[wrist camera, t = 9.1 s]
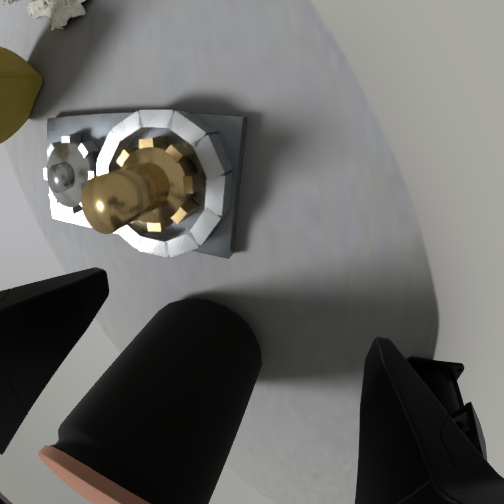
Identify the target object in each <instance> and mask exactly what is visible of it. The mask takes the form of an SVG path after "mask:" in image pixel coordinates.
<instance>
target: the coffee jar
mask: <svg viewBox="0 0 504 504" xmlns="http://www.w3.org/2000/svg"><path fill="white" fill-rule="evenodd" d="M261 366H262V361H261V350H260V346H259V344H258V342H257V340H256V338H255V336H254V334H253V332H252V330H251V329H250V327H249V326H248V325H247V324H246V323H245V322H244V321H243V320H242V319H241V317H240V316H238V315H237V314H235V313H234V312H232V311H231V310H229V309H228V308H226V307H225V306H222V305H219V304H217V303H214V302H211V301H208V300H198V299H185V300H181V301H176V302H172V303H169V304H168V305H166V306H165V307H164V308H162V309H161V310H159V311H158V312H157V314H156V315H155V316H154V317H153V318H152V319H151V320H150V321H149V322H148V324H147V325H146V326H145V327H144V328H143V329H142V330H141V331H140V333H139V334H138V335H137V336H136V337H135V338H134V339H133V341H132V342H131V343H130V344H129V345H128V346H127V347H126V348H125V350H124V351H123V352H122V353H121V354H120V355H119V357H118V358H117V359H116V360H115V361H114V362H113V363H112V365H111V366H110V367H109V368H108V369H107V370H106V372H105V373H104V374H103V375H102V376H101V377H100V379H99V380H98V381H97V382H96V383H95V384H94V386H93V387H92V388H91V389H90V390H89V392H88V393H87V394H86V395H85V396H84V397H83V399H82V400H81V401H80V402H79V403H78V405H77V406H76V407H75V408H74V409H73V410H72V412H71V413H70V414H69V415H68V416H67V418H66V419H65V420H64V422H63V423H62V424H61V425H60V427H59V430H58V434H59V440H58V442H57V443H56V444H55V445H51V446H44V447H43V448H42V449H41V450H40V451H39V453H38V454H39V456H40V459H41V460H42V461H43V463H45V465H46V466H47V467H48V468H49V469H50V470H51V471H52V472H53V473H54V474H55V475H57V477H59V478H60V479H61V480H62V481H63V482H65V483H66V484H67V485H68V486H69V487H71V488H72V489H73V490H74V491H76V492H77V493H79V494H80V495H81V496H83V497H84V498H86V499H87V500H89V501H90V502H91V503H93V504H208V503H209V501H210V499H211V496H212V494H213V491H214V489H215V487H216V484H217V481H218V479H219V477H220V474H221V472H222V469H223V467H224V465H225V462H226V460H227V457H228V454H229V452H230V449H231V447H232V444H233V442H234V439H235V437H236V434H237V431H238V429H239V426H240V423H241V421H242V418H243V415H244V413H245V410H246V407H247V405H248V402H249V399H250V396H251V394H252V391H253V388H254V385H255V383H256V380H257V377H258V374H259V371H260V369H261Z"/></svg>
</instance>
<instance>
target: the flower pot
mask: <svg viewBox="0 0 504 504" xmlns="http://www.w3.org/2000/svg"><path fill="white" fill-rule="evenodd" d="M42 83H43V77H42V76H41V75H40V74H39V73H38V72H37V71H36V70H35V69H34V68H33V67H32V66H31V65H29V64H28V62H26V61H25V60H24V59H23V58H21V57H20V56H19V55H17V54H16V53H14V52H12V51H10V50H8V49H6V48H3V47H0V143H2V142H4V141H5V140H7V139H8V138H10V137H11V136H12V135H13V134H14V133H16V132H17V131H18V130H19V129H20V128H21V127H22V126H23V124H24V123H25V122H26V121H27V120H28V118H29V116H30V113H31V110H32V108H33V105H34V102H35V100H36V98H37V95H38V93H39V91H40V88H41V86H42Z"/></svg>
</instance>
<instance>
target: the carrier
mask: <svg viewBox="0 0 504 504" xmlns="http://www.w3.org/2000/svg"><path fill="white" fill-rule="evenodd" d="M246 123H247V117H239V116H228V115H215V114H198V113H188V112H187V111H183V110H139V111H136V112H133V113H105V114H89V115H76V116H66V117H56V118H49V119H48V120H47V150H48V148H49V146H50V145H51V143H55V142H60V141H61V136H64V135H69V134H81V141H83V142H88V141H94V143H95V144H96V146H97V147H98V149H99V151H98V153H97V154H96V157H97V160H98V162H97V176H98V175H102V174H105V173H109V172H112V171H116V170H119V169H121V168H122V167H121V166H120V165H119V164H118V163H117V162H116V161H117V159H118V158H119V156H120V155H121V153H122V152H123V150H124V149H129V148H135V147H139V139H146V138H155V137H164V136H167V145H168V146H170V145H171V144H176V143H183V142H184V143H185V144H186V145H187V146H188V147H189V148H190V149H191V150H192V151H193V152H195V153H194V155H193V156H192V157H191V158H190V159H189V160H190V162H191V164H192V165H193V168H194V171H195V172H203V173H204V188H203V189H201V190H199V191H197V192H195V194H194V196H193V199H192V200H193V201H194V202H195V203H196V204H197V205H198V207H197V208H196V209H195V211H194V212H193V213H192V214H191V215H190V216H189V217H188V218H186V219H185V220H183V221H182V222H181V223H179V224H178V225H177V224H176V223H175V222H174V224H172V225H171V226H169V227H168V228H166V229H165V230H163V231H162V232H156V231H148V227H147V222H144V221H141V220H140V219H139V220H137V221H135V222H133V223H129V224H127V225H126V226H124V227H122V228H120V229H119V230H117V231H115V232H113V233H116V234H120V235H121V236H122V237H123V238H124V239H125V240H126V241H128V242H129V243H130V244H131V245H132V246H133V247H134V248H136V249H138V248H139V251H142V252H147V253H151V254H155V255H159V256H163V257H167V258H168V257H170V258H171V257H173V256H176V255H179V254H182V253H185V252H188V251H196V252H200V253H205V254H209V255H214V256H219V257H223V258H228V259H229V258H230V257H231V256H232V254H233V250H234V239H235V229H236V218H237V208H238V198H239V188H240V179H241V169H242V160H243V150H244V141H245V132H246ZM47 155H48V154H47ZM48 159H49V155H48ZM49 191H50V193H51V190H50V187H49ZM50 202H51V212H52V219H57V220H61V221H65V222H69V223H73V224H78V225H82V226H86V227H91V226H90V224H89V223H88V222H87V220H86V218H85V216H84V214H83V211H80V212H78V213H75V214H73V215H72V214H68V213H65V207H64V206H63V205H61V204H60V203H57V204H54V203H53V201H52V200H51V198H50ZM91 228H92V227H91Z"/></svg>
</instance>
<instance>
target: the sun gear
mask: <svg viewBox="0 0 504 504" xmlns="http://www.w3.org/2000/svg"><path fill="white" fill-rule="evenodd" d="M98 151H99V149H98V147H97V146H96V144H95V143H94V141H88V142H83V141H81V134H69V135H64V136H61V141H60V142H55V143H51V145H50V146H49V148H48V150H47V154H48V155H49V159H48V164H47V167H44V168H43V171H44V180H48V184H49V187H50V190H51V193H50V194H49V196H50V198H51V200H52V201H53V203H54V204H57V203H60V204H61V205H63V206H64V207H65V213H68V214H72V215H73V214H75V213H78V212H80V211H82V206H81V194H82V190H83V187H84V185H85V184H86V182H87V181H88V180H89V179H91V178H92V177H95V176H97V162H98V160H97V157H96V154H97V153H98Z"/></svg>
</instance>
